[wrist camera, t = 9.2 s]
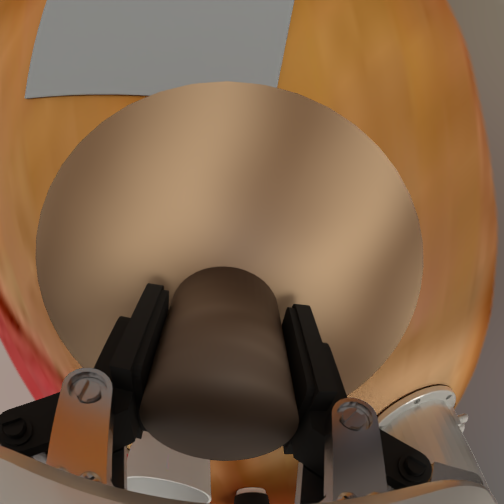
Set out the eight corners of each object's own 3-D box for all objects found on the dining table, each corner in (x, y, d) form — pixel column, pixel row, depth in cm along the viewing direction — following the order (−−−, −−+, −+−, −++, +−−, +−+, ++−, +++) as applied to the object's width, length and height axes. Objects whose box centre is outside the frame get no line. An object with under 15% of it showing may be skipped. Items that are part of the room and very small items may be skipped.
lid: (457, 148, 10) (570, 186, 4) (341, 421, 16) (363, 501, 11) (46, 80, 8) (-71, 78, 3) (76, 390, 14) (43, 468, 9)
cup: (125, 403, 28) (103, 480, 19) (176, 379, 26) (159, 471, 17) (178, 438, 31) (168, 509, 22) (231, 419, 29) (230, 501, 20)
